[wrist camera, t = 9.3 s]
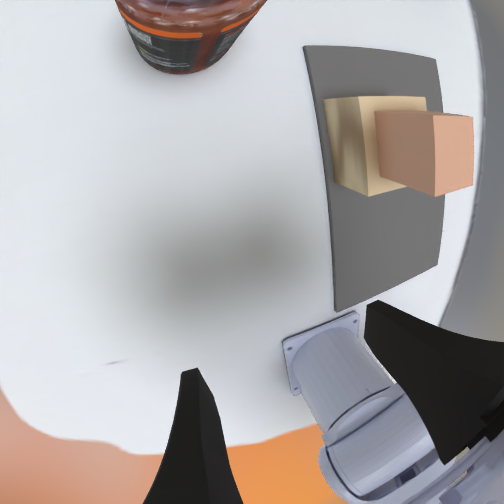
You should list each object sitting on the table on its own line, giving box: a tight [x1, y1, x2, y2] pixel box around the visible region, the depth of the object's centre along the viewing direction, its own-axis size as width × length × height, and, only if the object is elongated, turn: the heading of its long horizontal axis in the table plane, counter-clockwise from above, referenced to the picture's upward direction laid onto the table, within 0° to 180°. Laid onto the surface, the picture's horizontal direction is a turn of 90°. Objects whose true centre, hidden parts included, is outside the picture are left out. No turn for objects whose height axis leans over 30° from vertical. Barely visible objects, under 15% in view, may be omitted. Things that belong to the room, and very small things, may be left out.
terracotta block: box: [374, 110, 474, 197], centre depth 13 cm, size 4×4×4 cm
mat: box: [303, 46, 445, 313], centre depth 21 cm, size 22×14×1 cm, turn 11°
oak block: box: [323, 96, 427, 197], centre depth 16 cm, size 6×6×4 cm
